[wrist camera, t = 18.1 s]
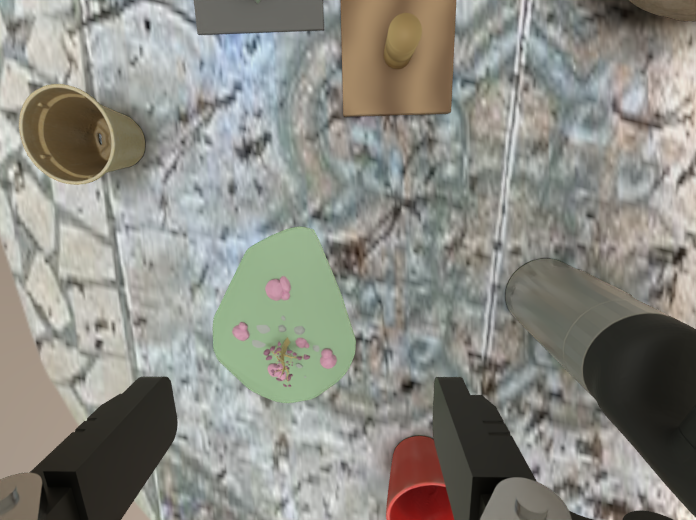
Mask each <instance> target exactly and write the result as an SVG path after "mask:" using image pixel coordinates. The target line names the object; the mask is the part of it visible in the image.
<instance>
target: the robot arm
mask: <svg viewBox="0 0 696 520" xmlns="http://www.w3.org/2000/svg"><path fill="white" fill-rule="evenodd" d="M505 295H506V304H507V307H508V309H509V311H510V313H511V314H512V315H513V316H514V317H515V318H516V319H517V320H518V321H519V322H520V323H521V324H522V325H523V326H524V327H525V329H526V330H527V331H528V332H529V333H530V334H531V335H532V336H533V337H534V338H535V339H536V340H537V341H538V342H539V343H540V344H541V345H542V346H543V347H544V348H545V349H546V350H547V351H548V352H549V353H550V354H551V355H552V356H553V357H554V358H555V359H556V360H557V361H558V362H559V363H560V364H561V365H562V366H563V367H564V368H565V369H566V370H567V371H568V372H569V373H570V374H571V375H572V376H573V377H574V378H575V379H576V380H577V381H578V382H579V383H580V384H581V385H582V386H583V387H584V388H585V389H586V390H587V391H588V392H589V393H590V394H591V395H592V396H593V397H594V398H595V399H596V401H597V403H598V405H599V407H600V408H601V410H602V411H603V413H604V414H605V415H606V416H607V418H608V419H609V420H610V421H611V422H612V423H613V424H614V425H615V426H616V427H617V428H618V430H619V431H620V432H621V433H622V434H623V435H624V436H625V437H626V439H627V440H628V441H629V442H630V443H631V444H632V445H633V447H634V448H635V449H636V450H637V451H638V452H639V454H640V455H641V456H642V457H643V458H644V459H645V461H646V462H647V463H648V464H649V465H650V467H651V468H652V469H653V470H654V471H655V473H656V474H657V475H658V476H659V477H660V478H661V480H662V481H663V482H664V483H665V484H666V486H667V487H668V488H669V489H670V490H671V491H672V492H673V493H674V494H675V496H676V497H677V498H678V499H679V500H680V501H681V502H682V503H683V504H684V506H685V507H686V508H687V509H688V510H689V511H690V512H691V513H692V514H693V515H694V516H695V517H696V329H694V328H693V327H691V326H689V325H687V324H685V323H683V322H681V321H679V320H677V319H675V318H672V317H671V316H669V315H667V314H665V313H663V312H661V311H659V310H657V309H655V308H653V307H651V306H649V305H647V304H645V303H642V302H640V301H638V300H636V299H634V298H633V297H632V295H630V294H628V293H626V292H624V291H622V290H620V289H618V288H616V287H614V286H612V285H610V284H608V283H606V282H604V281H602V280H600V279H598V278H596V277H594V276H592V275H590V274H588V273H586V272H584V271H582V270H579V269H575V268H573V267H571V266H569V265H567V264H565V263H563V262H561V261H558V260H554V259H538V260H534V261H531V262H529V263H527V264H525V265H523V266H522V267H520V268H519V269H518V270H517V271H516V272H515V273H514V274H513V276H512V277H511V279H510V280H509V283H508V285H507V288H506V293H505ZM176 432H177V415H176V409H175V403H174V397H173V391H172V385H171V381H170V379H169V378H168V377H140V378H138V379H137V380H136V381H135V382H134V383H133V384H132V385H131V386H130V387H129V388H128V389H127V390H126V391H125V392H124V393H123V394H119V395H117V396H116V397H114V398H112V399H111V400H109V401H107V402H106V403H104V404H102V405H101V406H100V407H99V408H98V409H97V410H96V411H95V412H93V413H92V414H91V415H90V416H89V417H88V418H87V421H84V422H83V423H82V424H81V425H80V426H79V427H78V428H76V430H75V432H73V433H71V434H70V435H69V436H68V437H67V438H66V439H65V440H64V441H63V442H62V443H61V444H59V446H57V447H56V448H55V449H54V450H53V451H52V452H51V453H50V454H49V455H48V456H47V457H46V458H45V459H44V460H43V461H41V462H40V463H39V464H38V465H37V466H36V467H35V468H34V469H33V470H32V471H31V472H30V473H20V474H15V475H11V476H8V477H5V478H3V479H0V520H121V519H122V517H123V516H124V514H125V513H126V511H127V510H128V508H129V507H130V505H131V504H132V502H133V501H134V499H135V498H136V496H137V495H138V493H139V492H140V490H141V489H142V487H143V486H144V484H145V483H146V481H147V480H148V479H149V477H150V476H151V474H152V473H153V471H154V470H155V468H156V467H157V465H158V464H159V462H160V461H161V459H162V458H163V456H164V455H165V453H166V452H167V450H168V449H169V447H170V446H171V444H172V442H173V440H174V438H175V435H176ZM433 437H434V443H435V448H436V451H437V455H438V459H439V463H440V467H441V471H442V474H443V478H444V482H445V486H446V490H447V494H448V497H449V501H450V505H451V509H452V513H453V517H454V520H593V519H589V518H586V517H583V516H580V515H577V514H575V513H573V512H571V511H569V510H568V508H567V506H566V505H565V503H564V502H563V501H562V500H561V498H560V497H559V496H558V495H557V494H555V493H554V492H553V491H552V490H550V489H549V488H547V487H546V486H544V485H542V484H540V483H538V482H537V481H536V479H535V477H534V476H533V474H532V472H531V470H530V468H529V467H528V465H527V463H526V461H525V459H524V457H523V456H522V454H521V452H520V450H519V448H518V446H517V445H516V443H515V441H514V439H513V437H512V436H510V432H509V430H508V428H507V426H506V425H505V424H504V422H503V419H502V417H501V416H500V414H499V412H498V410H497V408H496V407H495V406H494V405H493V404H492V403H491V402H489V401H488V400H487V399H486V398H485V397H484V396H482V395H470V393H469V391H468V389H467V387H466V385H465V383H464V380H463V379H462V378H461V377H436V378H435V382H434V401H433ZM623 520H673V519H671V518H668V517H666V516H663V515H661V514H658V513H654V512H649V511H633V512H630V513H628V514H627V515H625V516H624V518H623Z"/></svg>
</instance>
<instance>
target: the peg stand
mask: <svg viewBox="0 0 696 520" xmlns="http://www.w3.org/2000/svg"><path fill="white" fill-rule="evenodd" d="M455 16H456V0H341V36H342V77H343V115H344V117H351V116H386V115H422V114H448V113H450V112H451V101H452V79H453V58H454V37H455Z"/></svg>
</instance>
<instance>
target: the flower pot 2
mask: <svg viewBox="0 0 696 520" xmlns="http://www.w3.org/2000/svg"><path fill="white" fill-rule="evenodd" d="M386 518H387V520H454V517H453V513H452V509H451V505H450V501H449V497H448V494H447V490H446V486H445V482H444V478H443V474H442V471H441V467H440V463H439V459H438V455H437V451H436V448H435V443H434V440H433V439H432V438H429V437H425V436H414V437H410V438H407V439H405V440H403V441H402V442H401V443H399V444H398V446H397V447H396V449H395V451H394V454H393V460H392V466H391V472H390V480H389V489H388V498H387V508H386Z"/></svg>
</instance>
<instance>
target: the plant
mask: <svg viewBox="0 0 696 520" xmlns="http://www.w3.org/2000/svg"><path fill="white" fill-rule="evenodd" d="M355 343H356V340H355V337H354V333H353V330H352V327H351V324H350V321H349V317H348V314H347V311H346V308H345V304H344V301H343V298H342V295H341V292H340V290H339V288H338V285H337V283H336V280H335V278H334V275H333V273H332V271H331V268H330V266H329V263H328V261H327V259H326V256H325V254H324V251H323V249H322V246H321V244H320V242H319V239H318V237H317V235H316V233H315V231H314V230H313V229H310V228H306V227H294V228H290V229H286V230H283V231H281V232H279V233H276V234H274V235H272V236H269V237H268V238H266V239H264V240H262V241H260V242H258V243H256V244H255V245H253V246H252V247H250V248H249V249H248V250H247V251H246V253H245V255H244V257H243V259H242V261H241V263H240V265H239V267H238V269H237V271H236V273H235V275H234V277H233V279H232V281H231V283H230V285H229V287H228V289H227V291H226V293H225V295H224V298H223V300H222V302H221V304H220V306H219V308H218V310H217V312H216V314H215V316H214V320H213V349H214V352H215V354H216V357H217V359H218V360H219V362H220V363H221V364H222V365H224V366H225V367H226V368H227V369H228V370H229V371H230V372H231V373H232V374H233V375H234V376H235V377H236V378H237V379H239V380H240V381H241V382H242V383H243V384H244V385H245V386H246V387H247V388H248V389H250V390H251V391H253V392H255V393H257V394H259V395H261V396H263V397H266V398H268V399H271V400H273V401H276V402H281V403H293V402H299V401H305V400H310V399H313V398H315V397H317V396H319V395H320V394H321V393H323V392H324V391H325V390H327V389H328V388H330V387H331V386H332V385H334V384H335V383H336V382H338V381H339V380H340V379H341V378H342V377H343V376H344V375H345V374H346V372H347V370H348V369H349V367H350V365H351V362H352V360H353V357H354V355H355Z"/></svg>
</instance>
